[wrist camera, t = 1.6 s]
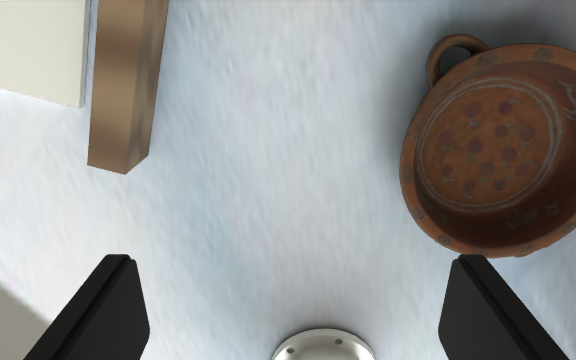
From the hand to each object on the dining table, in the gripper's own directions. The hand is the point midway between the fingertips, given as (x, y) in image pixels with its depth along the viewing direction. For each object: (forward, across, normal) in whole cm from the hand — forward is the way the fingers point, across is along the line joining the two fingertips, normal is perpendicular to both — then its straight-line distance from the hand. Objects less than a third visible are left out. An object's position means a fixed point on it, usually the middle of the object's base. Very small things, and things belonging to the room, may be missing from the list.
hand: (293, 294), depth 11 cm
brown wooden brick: (+24, +12, -5) cm, 27 cm away
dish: (+24, -18, +3) cm, 30 cm away
